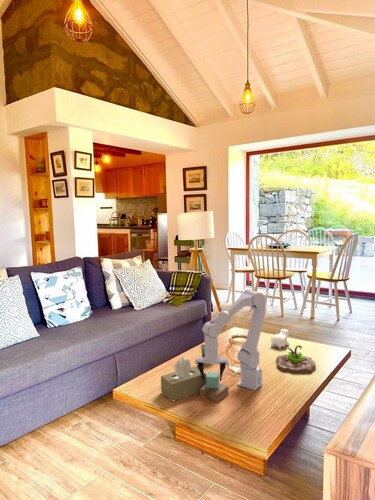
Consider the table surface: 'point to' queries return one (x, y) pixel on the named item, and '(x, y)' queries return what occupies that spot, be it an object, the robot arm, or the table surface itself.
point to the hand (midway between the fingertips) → (211, 379)
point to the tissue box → (182, 380)
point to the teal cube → (212, 380)
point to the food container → (203, 350)
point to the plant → (295, 362)
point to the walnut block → (214, 392)
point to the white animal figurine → (280, 339)
